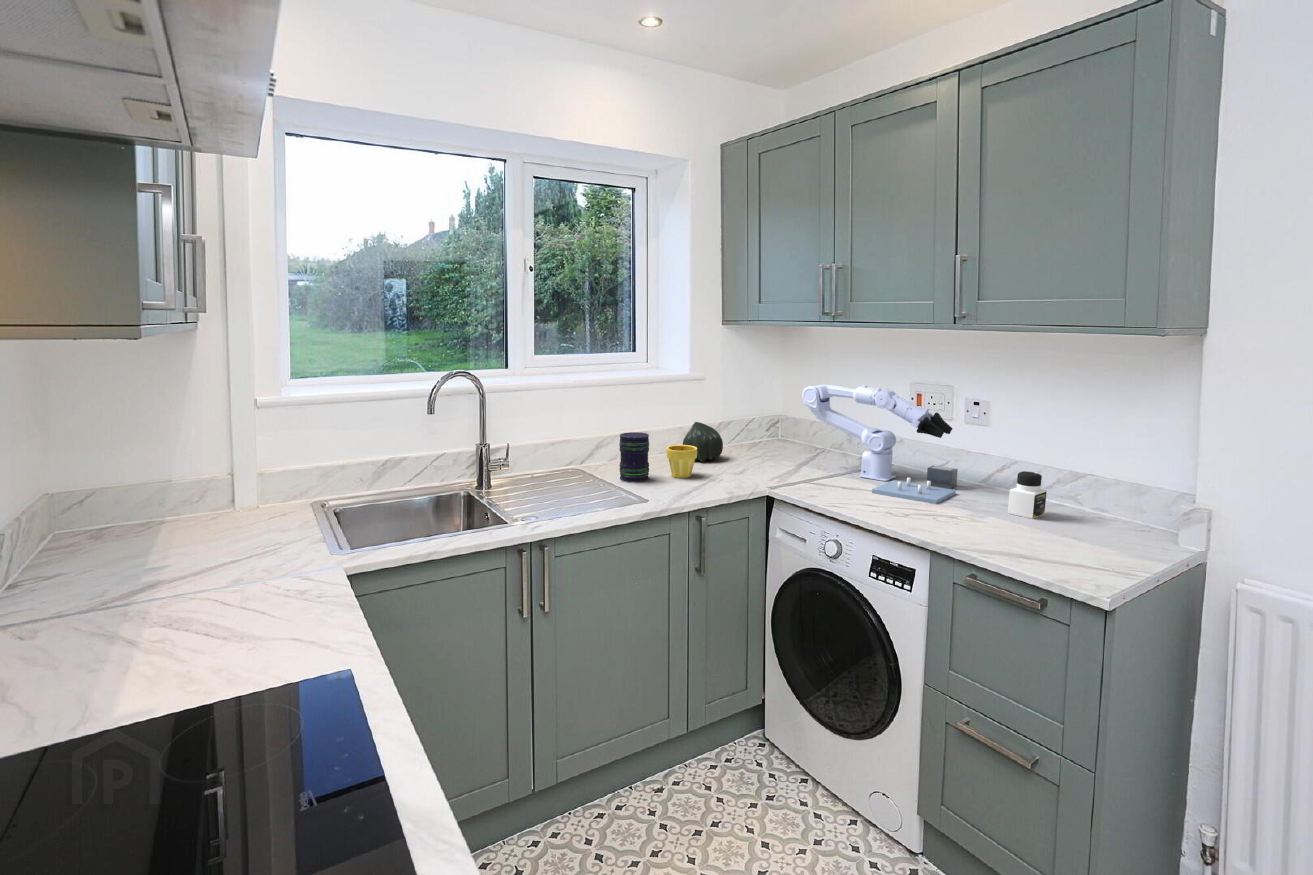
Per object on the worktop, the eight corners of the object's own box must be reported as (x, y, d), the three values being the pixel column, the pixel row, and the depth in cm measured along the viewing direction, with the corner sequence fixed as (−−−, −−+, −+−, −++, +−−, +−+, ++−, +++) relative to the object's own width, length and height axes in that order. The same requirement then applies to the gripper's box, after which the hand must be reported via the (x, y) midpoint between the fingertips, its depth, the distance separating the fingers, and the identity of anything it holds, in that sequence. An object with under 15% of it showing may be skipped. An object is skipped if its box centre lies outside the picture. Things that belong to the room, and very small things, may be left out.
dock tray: (872, 492, 234) (872, 480, 234) (893, 483, 246) (894, 472, 246) (936, 504, 221) (937, 491, 221) (955, 493, 233) (956, 481, 233)
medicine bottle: (1033, 519, 206) (1037, 476, 204) (1007, 513, 212) (1011, 472, 209) (1044, 514, 211) (1048, 472, 209) (1019, 509, 216) (1022, 468, 214)
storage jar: (650, 475, 256) (650, 432, 253) (647, 482, 246) (647, 437, 244) (621, 475, 257) (621, 432, 254) (617, 481, 247) (617, 437, 245)
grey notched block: (926, 485, 244) (927, 467, 243) (931, 483, 247) (932, 465, 246) (951, 489, 239) (952, 471, 238) (956, 487, 242) (957, 468, 241)
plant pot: (697, 479, 251) (697, 450, 249) (666, 479, 251) (666, 450, 250) (696, 472, 261) (696, 444, 260) (666, 472, 262) (666, 444, 260)
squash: (734, 448, 277) (718, 414, 283) (700, 453, 270) (684, 418, 276) (718, 467, 288) (703, 434, 294) (685, 473, 281) (670, 439, 287)
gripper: (906, 404, 238) (944, 425, 231) (923, 398, 249) (960, 419, 242) (896, 423, 241) (933, 445, 234) (913, 417, 252) (950, 437, 245)
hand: (946, 433), depth 238 cm, fingers open, 7 cm apart
